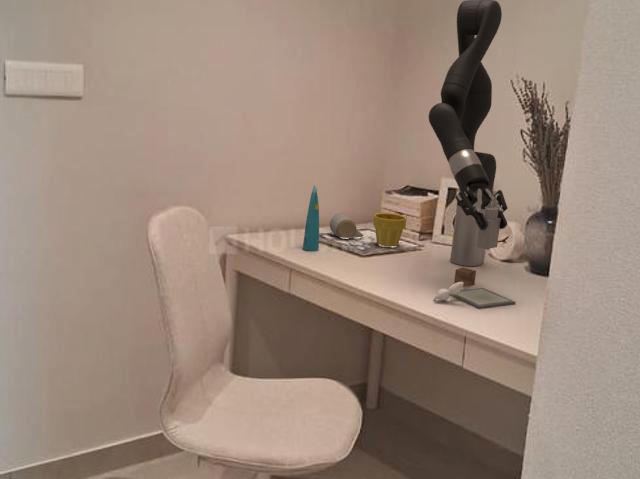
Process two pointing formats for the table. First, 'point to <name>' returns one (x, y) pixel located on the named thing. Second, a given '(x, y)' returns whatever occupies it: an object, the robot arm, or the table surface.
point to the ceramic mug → (344, 226)
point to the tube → (312, 224)
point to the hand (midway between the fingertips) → (494, 227)
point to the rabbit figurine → (449, 291)
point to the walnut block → (465, 276)
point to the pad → (482, 298)
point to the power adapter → (489, 229)
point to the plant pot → (389, 228)
